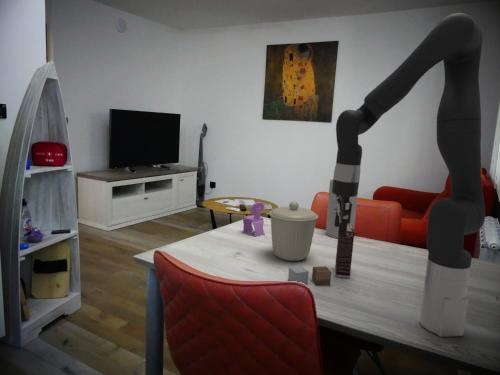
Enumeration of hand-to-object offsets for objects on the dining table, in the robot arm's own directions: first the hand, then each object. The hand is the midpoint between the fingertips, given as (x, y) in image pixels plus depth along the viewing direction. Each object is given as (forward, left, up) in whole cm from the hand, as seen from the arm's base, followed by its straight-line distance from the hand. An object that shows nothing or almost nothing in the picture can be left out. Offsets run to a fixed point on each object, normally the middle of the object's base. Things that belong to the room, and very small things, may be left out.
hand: (339, 230), depth 110 cm
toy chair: (+54, +18, -18) cm, 59 cm away
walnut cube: (+2, +4, -18) cm, 18 cm away
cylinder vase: (+51, -22, -18) cm, 58 cm away
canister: (+25, +8, -18) cm, 31 cm away
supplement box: (+9, -6, -18) cm, 21 cm away
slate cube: (+2, +12, -18) cm, 21 cm away
